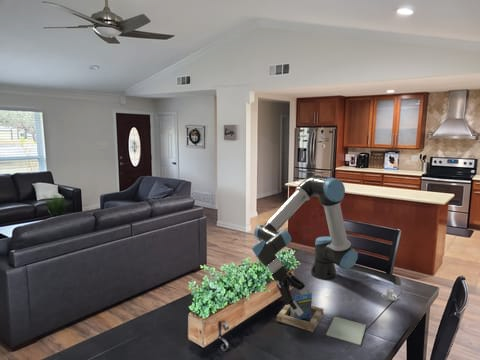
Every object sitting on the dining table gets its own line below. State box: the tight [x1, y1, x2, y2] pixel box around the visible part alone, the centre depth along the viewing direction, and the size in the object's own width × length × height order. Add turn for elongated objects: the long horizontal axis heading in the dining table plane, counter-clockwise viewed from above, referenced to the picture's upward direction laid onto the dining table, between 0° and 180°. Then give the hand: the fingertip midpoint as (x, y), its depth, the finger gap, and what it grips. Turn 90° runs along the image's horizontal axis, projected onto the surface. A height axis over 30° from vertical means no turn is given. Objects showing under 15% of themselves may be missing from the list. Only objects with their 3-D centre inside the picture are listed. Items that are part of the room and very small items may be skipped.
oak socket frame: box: [276, 304, 325, 333], centre depth 157 cm, size 17×17×2 cm
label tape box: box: [289, 292, 313, 320], centre depth 157 cm, size 9×4×12 cm, turn 111°
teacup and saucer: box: [380, 288, 398, 302], centre depth 178 cm, size 9×8×4 cm
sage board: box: [325, 316, 367, 346], centre depth 148 cm, size 16×14×1 cm
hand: (305, 307), depth 156 cm, fingers open, 13 cm apart
